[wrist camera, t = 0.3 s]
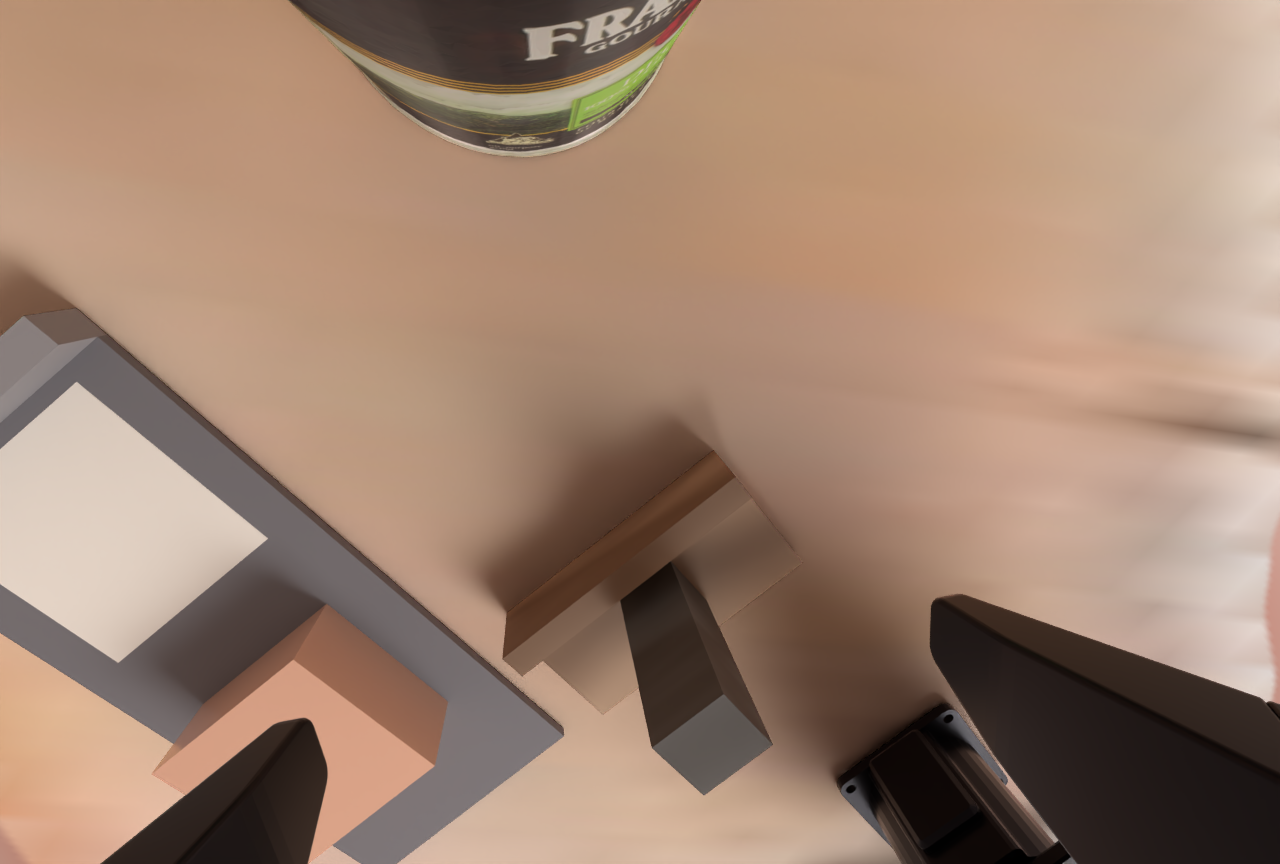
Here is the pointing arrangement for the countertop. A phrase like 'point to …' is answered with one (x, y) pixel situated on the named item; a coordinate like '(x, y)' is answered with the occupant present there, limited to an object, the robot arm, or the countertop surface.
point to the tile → (322, 720)
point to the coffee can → (506, 63)
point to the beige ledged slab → (664, 619)
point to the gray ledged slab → (205, 570)
